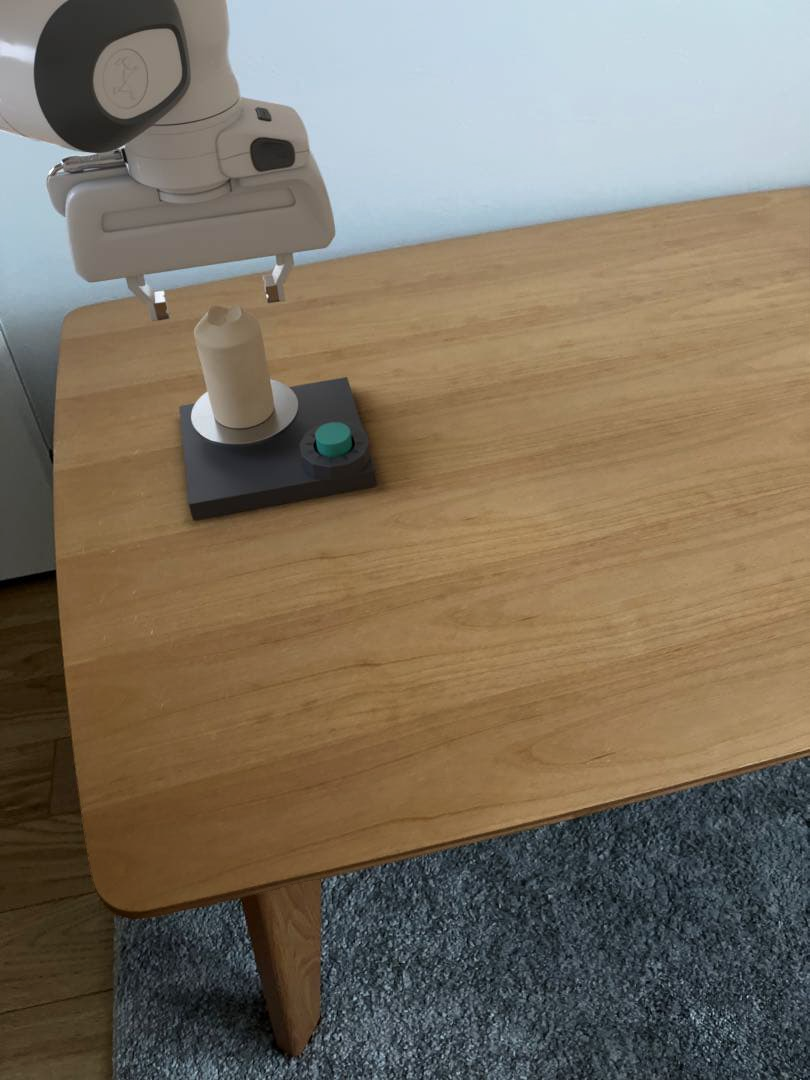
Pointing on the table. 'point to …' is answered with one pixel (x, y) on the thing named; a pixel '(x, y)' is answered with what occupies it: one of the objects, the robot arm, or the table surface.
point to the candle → (234, 366)
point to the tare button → (333, 439)
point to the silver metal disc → (249, 436)
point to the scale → (278, 458)
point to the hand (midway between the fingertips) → (218, 307)
